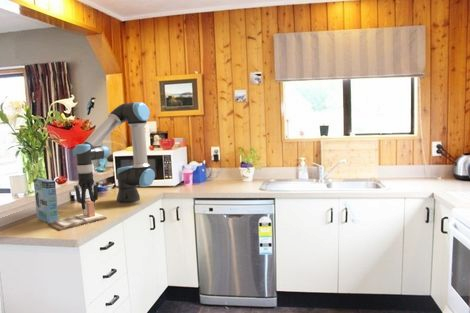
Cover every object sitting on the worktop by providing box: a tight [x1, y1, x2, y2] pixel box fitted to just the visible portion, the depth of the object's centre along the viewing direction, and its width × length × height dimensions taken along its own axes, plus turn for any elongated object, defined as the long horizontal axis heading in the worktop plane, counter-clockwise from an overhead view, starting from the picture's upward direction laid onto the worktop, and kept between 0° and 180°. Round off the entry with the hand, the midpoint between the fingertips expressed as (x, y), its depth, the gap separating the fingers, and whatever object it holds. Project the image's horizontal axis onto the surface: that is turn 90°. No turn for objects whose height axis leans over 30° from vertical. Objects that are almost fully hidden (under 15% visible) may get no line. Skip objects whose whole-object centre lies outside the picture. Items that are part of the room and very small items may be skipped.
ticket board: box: [47, 215, 108, 232], centre depth 198 cm, size 25×16×2 cm, turn 137°
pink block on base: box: [74, 199, 105, 222], centre depth 203 cm, size 10×14×9 cm
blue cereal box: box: [33, 177, 59, 224], centre depth 205 cm, size 19×5×23 cm, turn 47°
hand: (89, 213), depth 203 cm, fingers closed on pink block on base, 3 cm apart
